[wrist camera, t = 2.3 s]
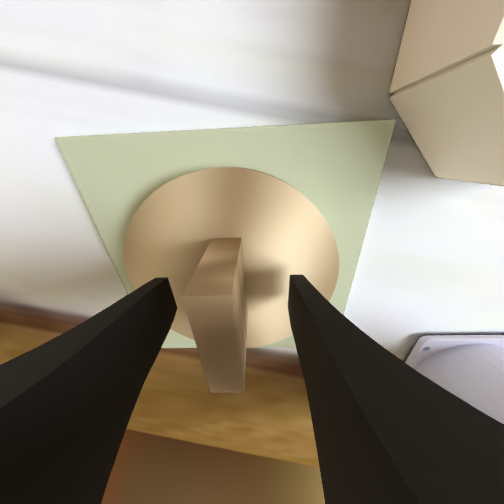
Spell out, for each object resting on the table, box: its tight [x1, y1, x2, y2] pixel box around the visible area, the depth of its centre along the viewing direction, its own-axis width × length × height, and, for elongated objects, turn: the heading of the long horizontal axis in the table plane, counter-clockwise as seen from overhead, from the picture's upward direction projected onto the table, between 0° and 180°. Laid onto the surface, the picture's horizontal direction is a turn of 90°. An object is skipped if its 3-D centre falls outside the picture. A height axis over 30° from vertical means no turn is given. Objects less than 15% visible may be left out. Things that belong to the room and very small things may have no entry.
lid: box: [124, 167, 339, 393], centre depth 8 cm, size 11×11×5 cm
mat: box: [55, 119, 396, 348], centre depth 11 cm, size 14×14×1 cm
